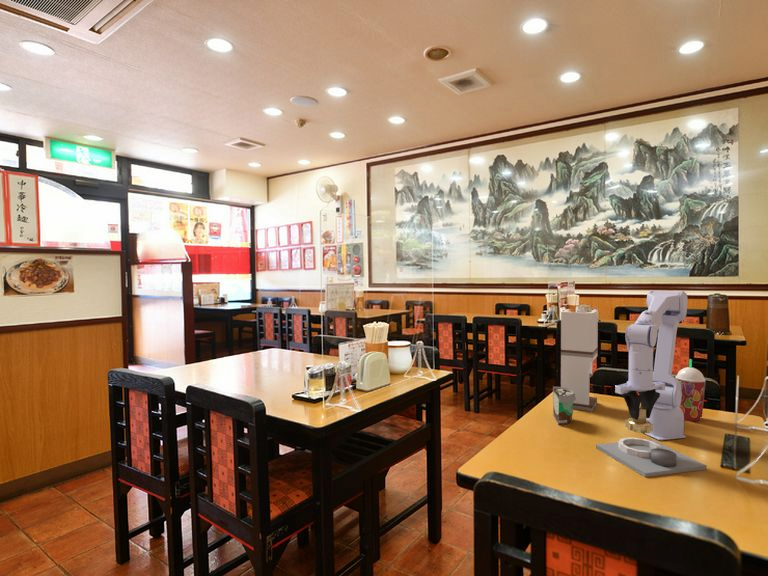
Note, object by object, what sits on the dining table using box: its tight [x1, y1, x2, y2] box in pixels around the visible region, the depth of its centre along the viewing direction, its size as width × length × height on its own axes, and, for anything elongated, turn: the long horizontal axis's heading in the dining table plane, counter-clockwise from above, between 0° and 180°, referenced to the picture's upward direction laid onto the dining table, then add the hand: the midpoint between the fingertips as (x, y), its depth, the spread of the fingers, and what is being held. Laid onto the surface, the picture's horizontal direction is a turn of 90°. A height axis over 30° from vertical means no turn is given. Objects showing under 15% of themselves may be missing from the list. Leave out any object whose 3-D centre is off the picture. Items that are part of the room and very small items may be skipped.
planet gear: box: [624, 405, 653, 435], centre depth 122 cm, size 6×6×6 cm
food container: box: [552, 386, 576, 426], centre depth 149 cm, size 12×6×10 cm, turn 168°
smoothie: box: [675, 358, 707, 422], centre depth 149 cm, size 8×8×20 cm
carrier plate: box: [595, 437, 708, 478], centre depth 120 cm, size 18×18×4 cm
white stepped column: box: [560, 308, 599, 412], centre depth 165 cm, size 11×11×35 cm
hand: (639, 417), depth 122 cm, fingers closed on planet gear, 3 cm apart
